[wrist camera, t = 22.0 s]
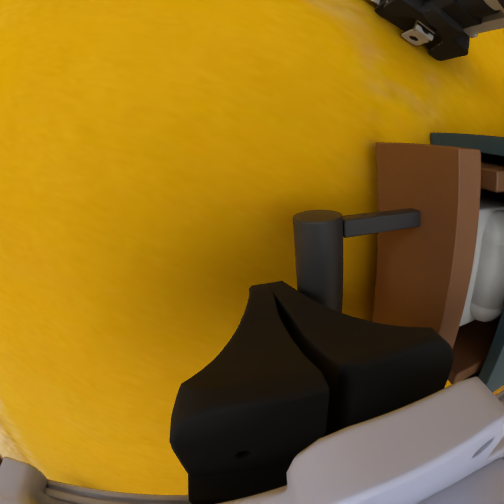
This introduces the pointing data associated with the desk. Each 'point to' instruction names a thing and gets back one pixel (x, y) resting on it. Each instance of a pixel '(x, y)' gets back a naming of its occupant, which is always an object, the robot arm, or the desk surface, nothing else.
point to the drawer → (412, 244)
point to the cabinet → (500, 353)
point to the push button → (443, 22)
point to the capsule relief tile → (487, 265)
